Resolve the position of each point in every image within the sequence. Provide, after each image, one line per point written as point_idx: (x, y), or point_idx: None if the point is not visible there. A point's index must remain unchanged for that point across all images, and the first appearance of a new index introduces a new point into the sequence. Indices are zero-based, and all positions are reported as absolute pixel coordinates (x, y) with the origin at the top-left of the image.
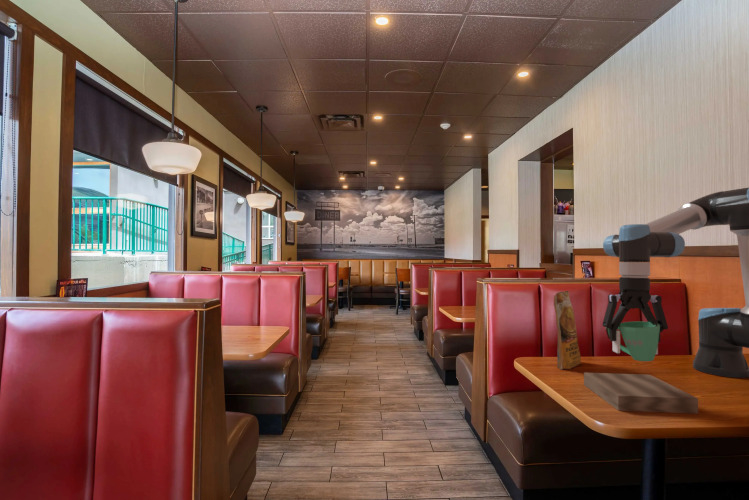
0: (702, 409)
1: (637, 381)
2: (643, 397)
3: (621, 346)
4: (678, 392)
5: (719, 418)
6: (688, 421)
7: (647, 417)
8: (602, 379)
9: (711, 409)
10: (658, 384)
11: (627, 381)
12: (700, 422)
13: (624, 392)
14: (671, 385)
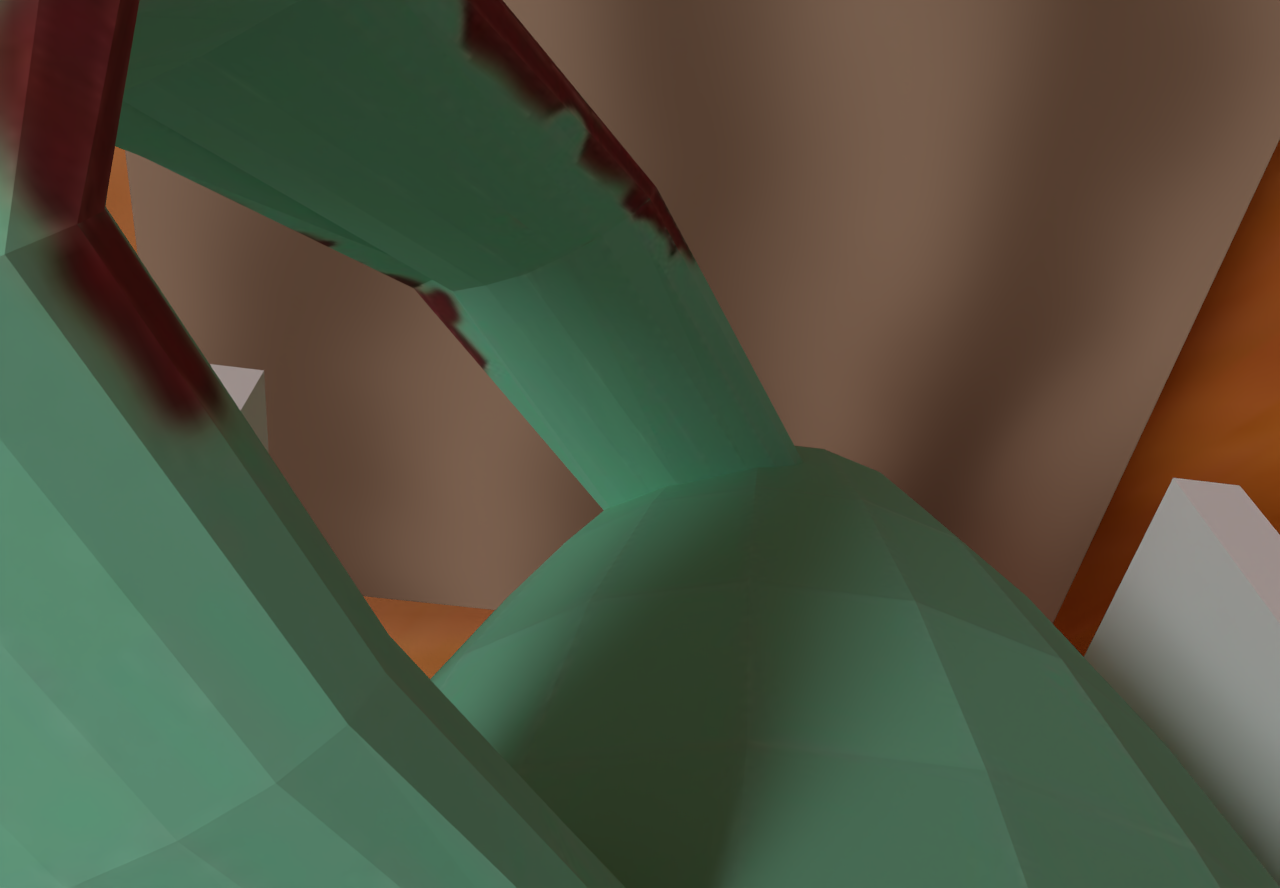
0: (1151, 477)
1: (834, 87)
2: (464, 598)
3: (528, 315)
4: (1005, 519)
5: (1071, 638)
6: None
7: (430, 604)
8: None
9: (1246, 480)
10: (1049, 241)
11: (658, 79)
12: None
13: (308, 499)
14: (1205, 287)
